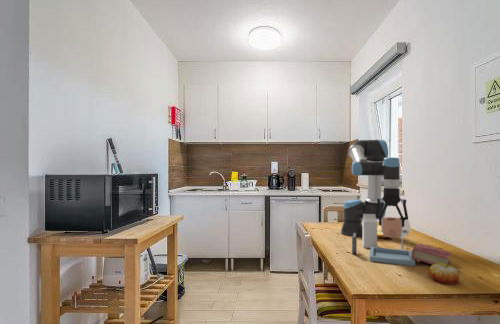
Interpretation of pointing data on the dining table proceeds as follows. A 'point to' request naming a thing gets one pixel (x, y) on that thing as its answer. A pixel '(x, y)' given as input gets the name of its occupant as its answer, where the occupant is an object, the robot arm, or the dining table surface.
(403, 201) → the robot arm
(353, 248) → the grey t-shaped piece
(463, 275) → the dining table surface
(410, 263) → the tray
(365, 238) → the milk carton
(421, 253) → the book
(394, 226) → the pink window frame
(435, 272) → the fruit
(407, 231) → the wineglass
